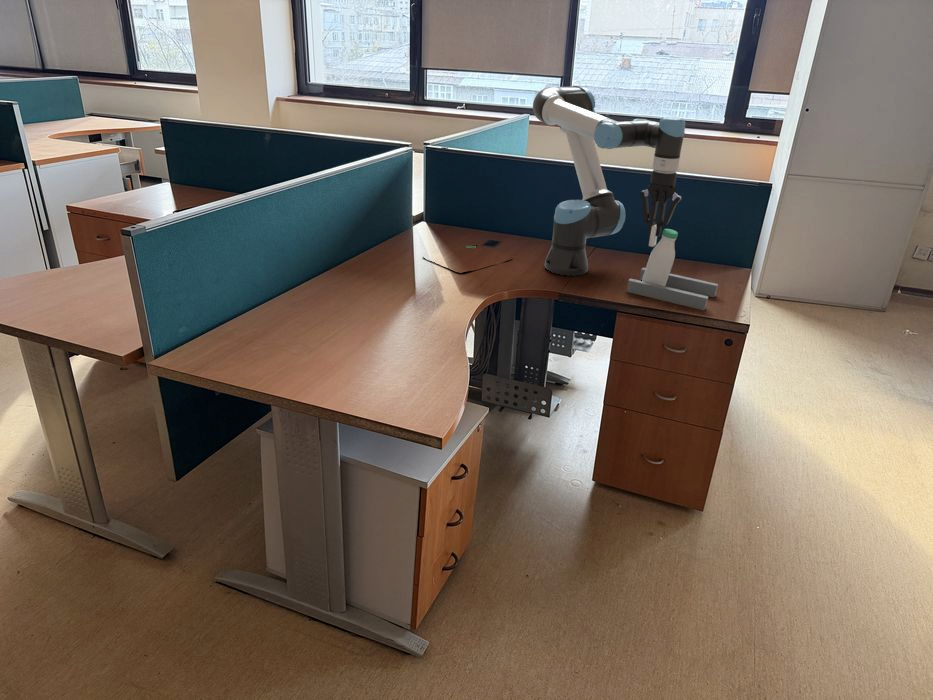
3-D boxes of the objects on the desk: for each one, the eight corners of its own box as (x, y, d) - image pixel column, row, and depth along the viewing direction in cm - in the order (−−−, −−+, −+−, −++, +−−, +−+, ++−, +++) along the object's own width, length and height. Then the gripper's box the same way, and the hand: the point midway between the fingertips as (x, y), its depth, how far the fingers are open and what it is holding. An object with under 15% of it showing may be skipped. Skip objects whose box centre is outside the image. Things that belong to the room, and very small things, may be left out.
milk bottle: (664, 295, 211) (684, 237, 201) (640, 289, 212) (659, 232, 202) (662, 285, 218) (682, 229, 207) (640, 280, 219) (658, 224, 208)
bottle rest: (626, 291, 212) (628, 280, 210) (641, 278, 224) (643, 267, 222) (704, 310, 201) (706, 298, 199) (715, 295, 212) (718, 284, 210)
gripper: (639, 169, 199) (628, 244, 209) (682, 175, 193) (668, 252, 203) (647, 166, 204) (636, 238, 215) (689, 171, 198) (675, 246, 209)
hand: (652, 245), depth 209 cm, fingers closed
